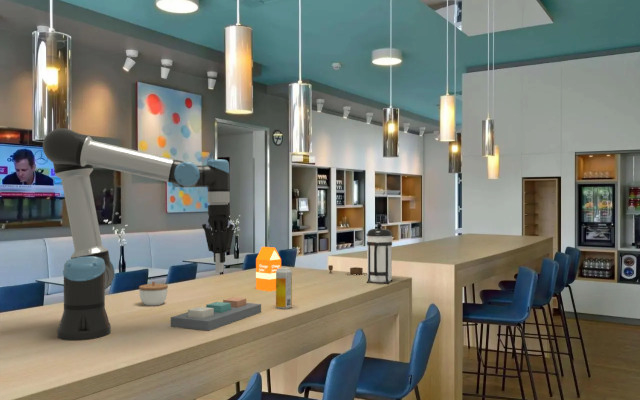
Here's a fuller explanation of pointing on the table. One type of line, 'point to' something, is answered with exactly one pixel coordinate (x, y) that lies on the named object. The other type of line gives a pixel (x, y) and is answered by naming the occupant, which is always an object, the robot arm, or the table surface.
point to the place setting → (352, 270)
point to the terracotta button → (236, 302)
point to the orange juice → (267, 268)
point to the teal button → (219, 306)
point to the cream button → (200, 312)
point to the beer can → (283, 288)
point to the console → (215, 318)
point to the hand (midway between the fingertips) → (219, 271)
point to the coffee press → (379, 255)
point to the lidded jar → (153, 294)
